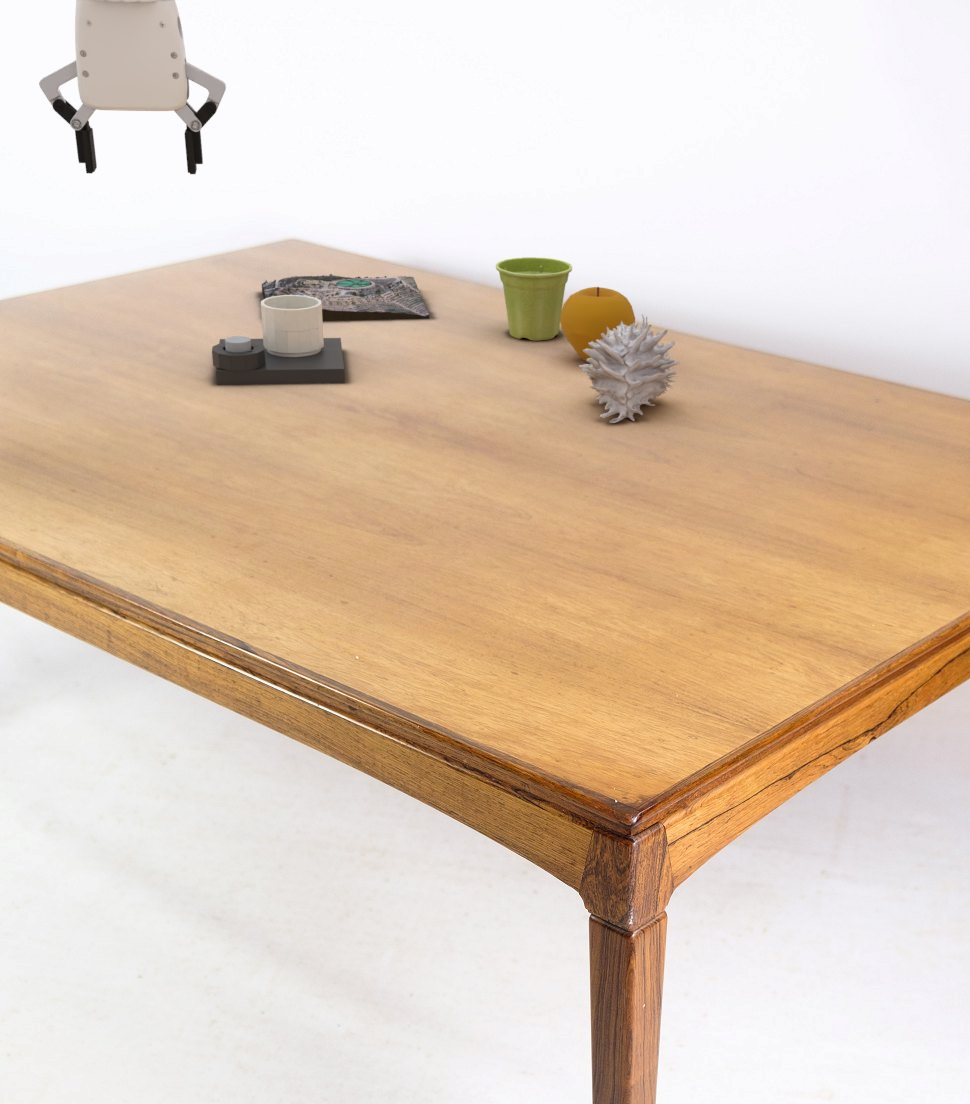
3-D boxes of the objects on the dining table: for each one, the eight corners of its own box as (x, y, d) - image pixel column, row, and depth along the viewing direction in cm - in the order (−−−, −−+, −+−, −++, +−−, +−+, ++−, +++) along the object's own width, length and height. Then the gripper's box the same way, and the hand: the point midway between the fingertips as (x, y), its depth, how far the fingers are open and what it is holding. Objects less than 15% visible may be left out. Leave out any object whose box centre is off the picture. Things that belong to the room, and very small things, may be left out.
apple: (556, 350, 199) (558, 276, 194) (629, 351, 199) (632, 277, 195) (561, 371, 191) (562, 294, 186) (637, 372, 192) (640, 296, 187)
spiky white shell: (659, 415, 185) (565, 432, 180) (642, 317, 183) (547, 331, 178) (709, 407, 175) (611, 425, 170) (693, 303, 173) (593, 319, 168)
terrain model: (268, 323, 204) (266, 297, 203) (262, 295, 217) (260, 270, 216) (429, 319, 209) (428, 294, 207) (414, 291, 222) (413, 267, 220)
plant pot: (514, 348, 199) (514, 276, 195) (484, 329, 206) (484, 259, 202) (583, 341, 203) (585, 271, 199) (551, 323, 210) (552, 254, 206)
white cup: (263, 358, 185) (260, 309, 182) (264, 342, 190) (261, 295, 188) (324, 357, 186) (322, 309, 183) (323, 341, 192) (320, 294, 189)
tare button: (225, 354, 180) (224, 342, 180) (226, 348, 183) (225, 336, 182) (251, 354, 181) (250, 342, 180) (251, 347, 183) (250, 335, 182)
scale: (213, 386, 180) (211, 355, 179) (217, 353, 192) (215, 323, 190) (345, 384, 183) (343, 353, 181) (341, 351, 194) (339, 322, 193)
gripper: (219, -19, 158) (233, 165, 166) (32, -24, 154) (55, 164, 162) (217, -12, 151) (231, 179, 159) (21, -18, 148) (46, 177, 156)
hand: (142, 171), depth 161 cm, fingers open, 9 cm apart
